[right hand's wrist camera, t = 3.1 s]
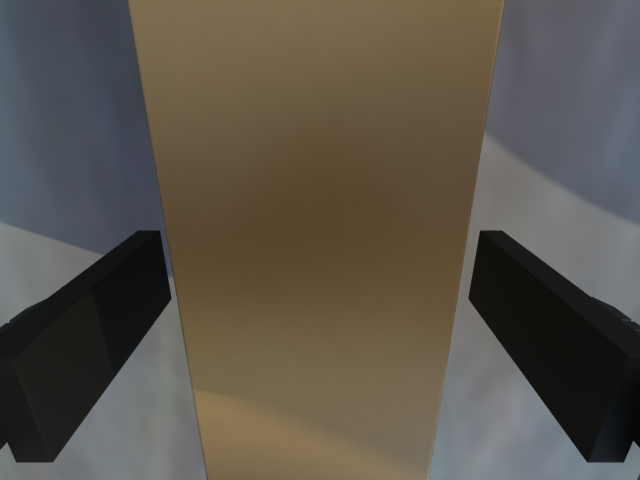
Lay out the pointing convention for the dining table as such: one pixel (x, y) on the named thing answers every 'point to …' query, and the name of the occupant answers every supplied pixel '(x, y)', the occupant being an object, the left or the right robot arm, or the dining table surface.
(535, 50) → the dining table surface
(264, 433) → the bar
